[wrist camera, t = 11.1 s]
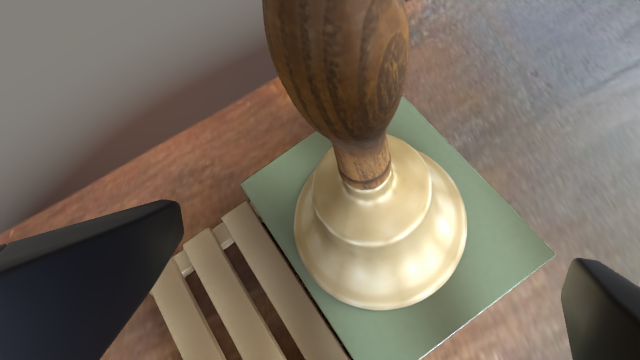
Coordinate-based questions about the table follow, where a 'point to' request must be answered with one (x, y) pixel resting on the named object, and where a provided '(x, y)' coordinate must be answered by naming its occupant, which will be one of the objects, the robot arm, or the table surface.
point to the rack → (298, 308)
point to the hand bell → (363, 156)
